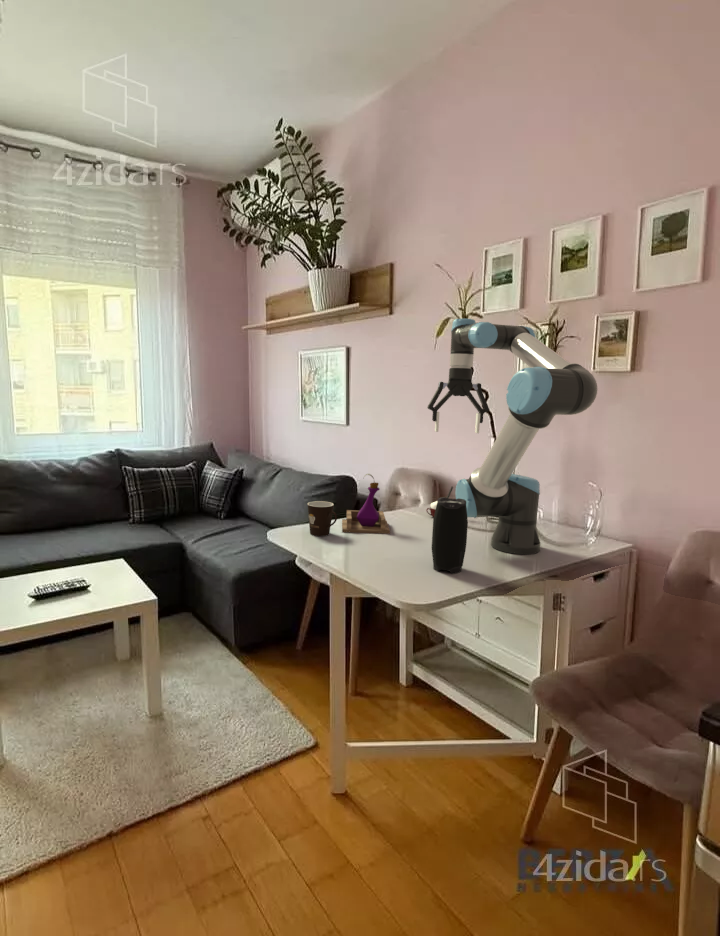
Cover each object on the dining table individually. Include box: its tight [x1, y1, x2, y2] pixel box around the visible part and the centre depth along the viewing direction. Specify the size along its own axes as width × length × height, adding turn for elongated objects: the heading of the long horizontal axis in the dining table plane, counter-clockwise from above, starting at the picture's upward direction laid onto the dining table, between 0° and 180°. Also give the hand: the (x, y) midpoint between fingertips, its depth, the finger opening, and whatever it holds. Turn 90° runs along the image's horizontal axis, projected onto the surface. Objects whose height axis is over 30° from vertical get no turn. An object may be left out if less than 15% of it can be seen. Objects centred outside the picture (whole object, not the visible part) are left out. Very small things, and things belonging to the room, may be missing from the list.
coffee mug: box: [307, 500, 338, 537], centre depth 184 cm, size 12×9×10 cm
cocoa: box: [425, 486, 454, 518], centre depth 215 cm, size 10×6×12 cm, turn 68°
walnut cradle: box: [341, 509, 391, 535], centre depth 196 cm, size 14×16×4 cm
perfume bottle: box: [357, 473, 380, 527], centre depth 195 cm, size 8×8×18 cm
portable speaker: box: [431, 496, 469, 574], centre depth 154 cm, size 9×9×20 cm
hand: (456, 432), depth 188 cm, fingers open, 13 cm apart
